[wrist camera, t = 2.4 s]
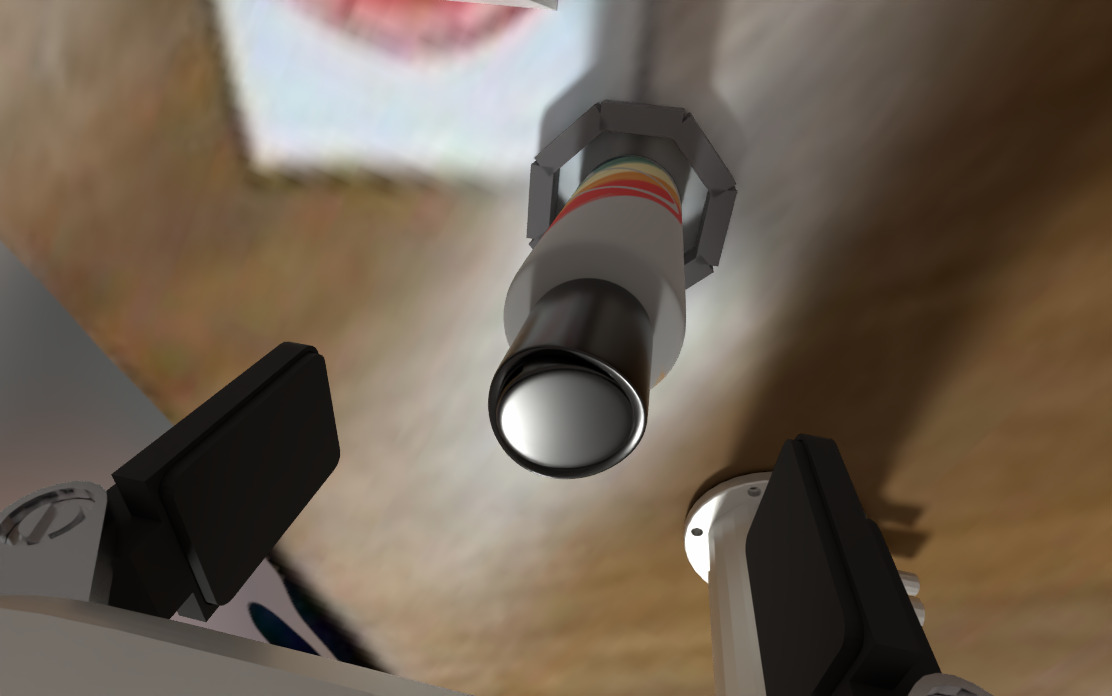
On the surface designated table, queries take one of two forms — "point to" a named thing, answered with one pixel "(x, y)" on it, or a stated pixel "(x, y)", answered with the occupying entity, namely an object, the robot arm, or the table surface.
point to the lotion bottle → (593, 324)
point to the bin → (519, 3)
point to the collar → (652, 124)
